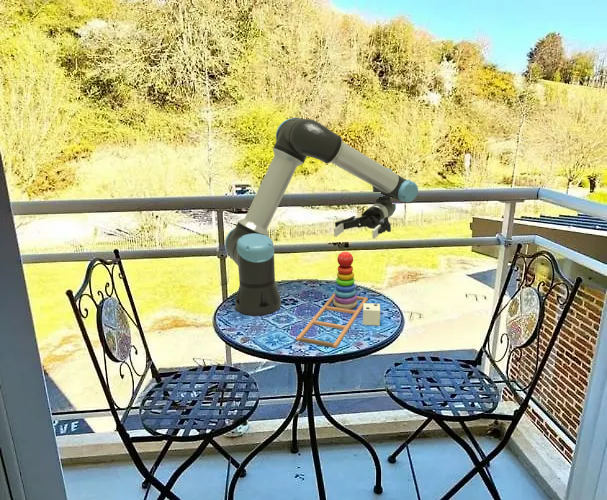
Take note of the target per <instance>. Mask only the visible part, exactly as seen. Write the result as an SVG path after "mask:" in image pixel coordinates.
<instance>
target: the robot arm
mask: <svg viewBox="0 0 607 500" xmlns="http://www.w3.org/2000/svg"><path fill="white" fill-rule="evenodd" d="M275 140H276V141H275V143H274V145H273V147H272V151H273V155H274V156H273V157H272V161H271V162H270V163H269V166H268V168H267V171H266V173H265V174H264V177H263V179H262V181H261V183H260V185H259V187H258V189H257V191H256V194H255V196H254V198H253V199H252V203H251V204H250V207H249V208H248V211H247V213H246V215H245V216H244V218H242V219H239V220H238V221H237V223H236V226H235V227H234V228H232V229H231V230H230V231H229V232H228V233H227V235H226V237H225V241H224V247H225V250H226V253H227V255H228V257H229V258H230V259H231V260H232V261H234V263H235V264H236V265H237V266H238V268H237V269H238V278H239V281H238V282H239V286H238V290H237V293H236V297H235V310H237V311H238V313H241V314H244V315H248V316H261V315H269V314H272V313H274V312H276V311H277V310H279V309H280V308H281V307H282V298H281V295H280V293H279V290H278V288H277V284H276V279H275V278H276V276H275V275H276V273H275V270H276V269H275V246H274V242H273V240H272V238H271V237H269V235H270V234H269V232H268V227H269V226H270V224H271V221H272V219H273V217H274V216H275V213H276V211H277V209H278V206H279V205H280V203H281V201H282V199H283V196H284V195H285V192H286V191H287V188H288V186H289V184H290V182H291V180H292V178H293V176H294V173H295V172H296V170H297V168H298V167H300V166H302V165H304V163H305V161H306V159H307V157H310V158H313V159H316V160H319V161H321V162H323V163H325V164H330V163H331V164H333V165H335V166H337V167H338V168H339V169H342V170H343V171H346V172H348V173H350V174H351V175H353V176H355V177H356V178H358V179H360V180H362V181H363V182H365V183H367V184H369V185H371V186H372V193H373V192H381V194H383V195H385V196H383V197H379V199H377V200H376V202H374V204H373V203H372V205H371V206H370V207H368V208H367V209H366V210H364V212H363V213H362V215H361V216H358V217H356V216H355V215H352V216H351V217H348V218H345V219H342V220H338V221H336V222H334V226H335V227H334V228H333V234H334V237H338V236H339V235H340V234H342V233H343V232H344V230H349V229H354V228H358V229H359V228H363V227H364V228H368V229H372V230H371V231H372V232H371V233H372V239H376V238H377V237H379V235H380V234H383V233H385V232H387V233H391V231H392V226H391V225H392V224H391V222H390V221H389V218H391V217H392V216H393V215H394V213H395V211H396V207H397V206H396V205H397V204H396V203H395V204H392V202H390V201H391V199H390V197H392V198H393V199H395V200H398V201H400V202H402V203H404V202H405V203H411V202H413V201H414V200H415V199H417V196H418V193H419V187H418V185H417V183H416V182H414V181H412V180H410V179H407V178H404V177H402V176H401V175H399V174H397V173H395V171H393V170H392V168H388V167H385V166H384V165H382V164H380V163H379V162H377V161H376V160H374V159H373V158H371V157H369V156H367V155H365V154H363V153H362V152H360V151H359V150H358V149H355V148H354V147H352V146H350V145H349V144H347V143H345V142H344V141H343V138H342V137H341V136H340V135H338V134H337V133H335V132H333V131H332V130H331V129H330V128H327V126H326V125H323V124H322V123H320V122H319V121H316V120H314V119H311V118H302V117H291V118H288V119H285V120H284V121H282V122H281V123H280V124H279V125H278V127H277V130H276V131H275Z"/></svg>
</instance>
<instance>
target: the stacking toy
mask: <svg viewBox="0 0 607 500" xmlns="http://www.w3.org/2000/svg"><path fill="white" fill-rule="evenodd" d="M336 261H337V263H338V266H337V273H336V276H337V277H336V278H335V279H336V280H335V285H334V286H335V288H334V293H335V296H334V298H335V299H334V300H333V301H332V303H333V305H334V306H335V307H336V308H342V309H349V310H352V309H354V308H355V307H356V306H357V305H358V300H356V299H357V296H358V295H357V294H356V293H357V292H356V291H357V290H356V284H355V281H356V280H355V278H354V277H355V273H354V272H353V271H354V267H353V266H352V264H353V263H354V256H353V255H352V253H350V252H349V251H342V252H340V253H339V254H338V256H337V260H336ZM334 306H333V307H334Z"/></svg>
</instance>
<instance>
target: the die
mask: <svg viewBox="0 0 607 500" xmlns="http://www.w3.org/2000/svg"><path fill="white" fill-rule="evenodd" d="M362 309H363V310H362V325H363V326H381V325H380V324H381V323H380V322H381V303H372V302H371V303H370V302H369V303H368V302H366V303H363V308H362Z"/></svg>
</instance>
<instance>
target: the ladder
mask: <svg viewBox="0 0 607 500" xmlns="http://www.w3.org/2000/svg"><path fill="white" fill-rule="evenodd" d="M334 296H335V292H333V294H332V295H331V296H330V298H329V299H328V300H327V301H326V302H325V303H324V305H322V307H321V308H320V310H319V311H318V312H317V313H316V314H315V315H314V316H313V317H312V319H311V320H310V321H309V322H308V323H307V325H306V326H305V327H304V328H303V330H302V331H301V332H300V333H299V334H298V335H297V336H296V338H295V341H298V342H302V343H308V344H312V345H318V346H323V347H329V348H333V349H337V348H338V346H339V344H341V342H342V340H343V339H344V337H345V335H346V334H347V333H348V331H349V330H350V328H351V327H352V326H353V324H354V322H355V320H356V319H357V317H358V316H359V315H360V313H361V311H363V310H362V309H363V303H368V300H369V298H368V297H365V296H358V295H357V299H356V300H357V301H361V302H360V304H359V305H358V307H357V309H356V310H354V309H342V308H337V307H336V306H335V307H334V306H330V305H331V304H332V303H333V301H334V299H335V298H334ZM326 310H327V311H333V312H339V313H344V314H352V316H351V318H350V319H349V320H348V322H347V323H346V325H343V324H338V323H337V324H336V323H332V322H325V321H320V320H318V319H319V318H320V317H321V315H322V314H323V313H324V312H325V311H326ZM313 325H317V326H321V327H327V328H333V329H339V330H342V331H340V332H341V333H339V336H338V337H337V338H336V340H335V341H334V342H329V341H324V340H319V339H313V338H309V337H308V338H307V337H305V335H306V334H307V333H308V331H309V330H310V329H311V328H312V326H313Z"/></svg>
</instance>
